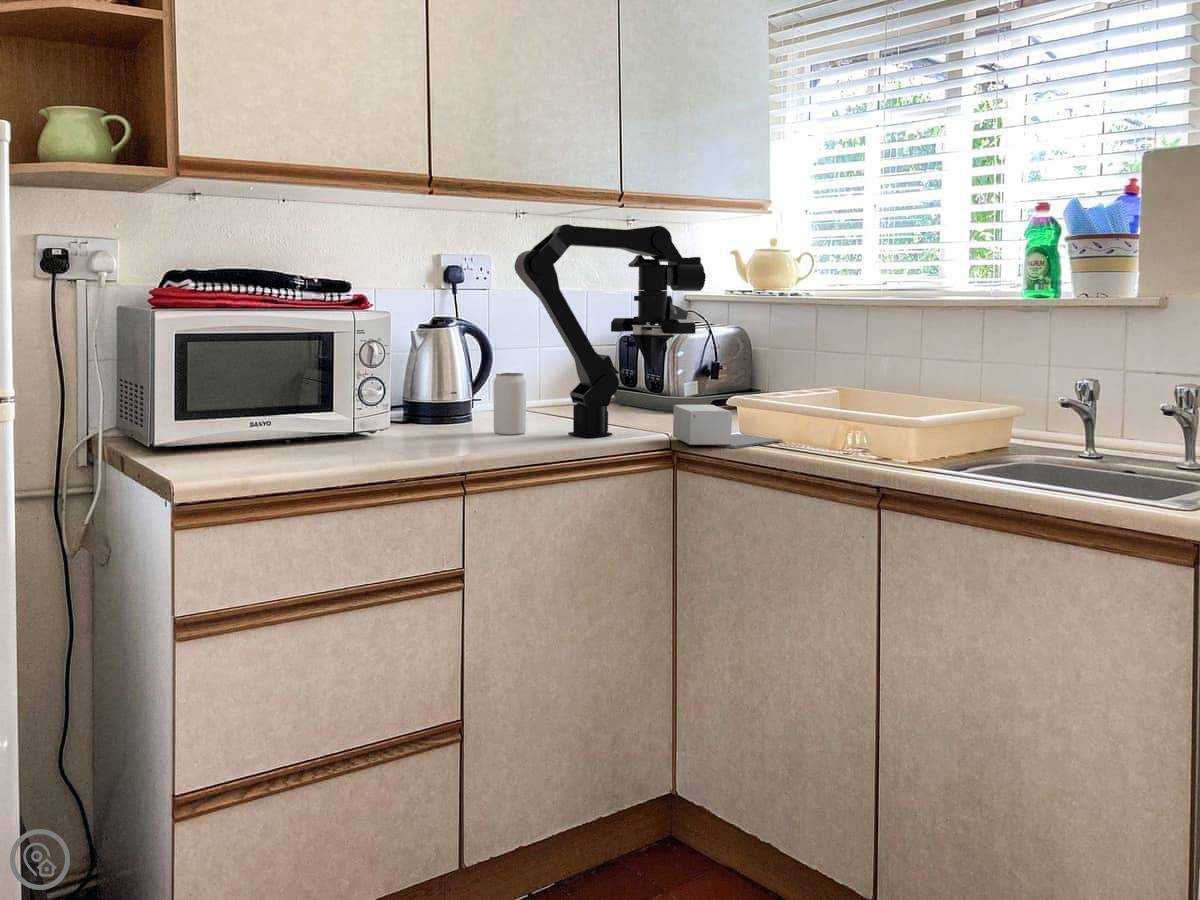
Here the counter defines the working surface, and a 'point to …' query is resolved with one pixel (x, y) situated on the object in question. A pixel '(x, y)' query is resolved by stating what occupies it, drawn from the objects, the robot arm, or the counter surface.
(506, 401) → the can
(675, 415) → the small box
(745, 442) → the mat
